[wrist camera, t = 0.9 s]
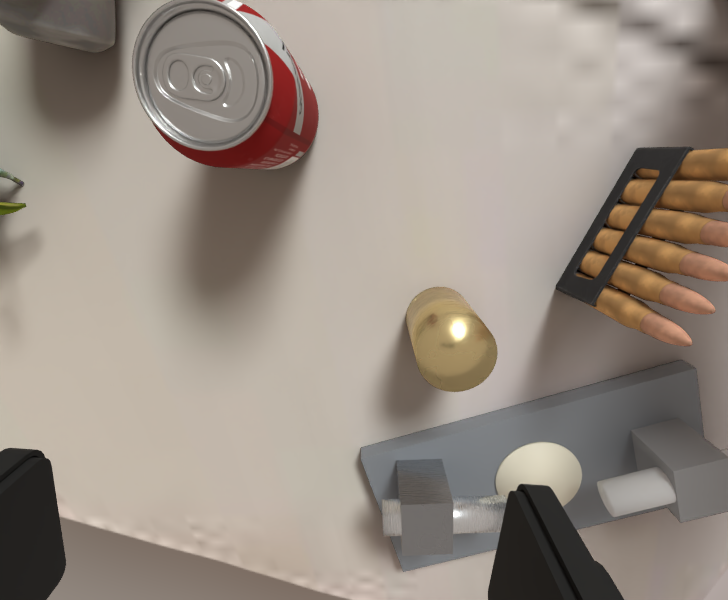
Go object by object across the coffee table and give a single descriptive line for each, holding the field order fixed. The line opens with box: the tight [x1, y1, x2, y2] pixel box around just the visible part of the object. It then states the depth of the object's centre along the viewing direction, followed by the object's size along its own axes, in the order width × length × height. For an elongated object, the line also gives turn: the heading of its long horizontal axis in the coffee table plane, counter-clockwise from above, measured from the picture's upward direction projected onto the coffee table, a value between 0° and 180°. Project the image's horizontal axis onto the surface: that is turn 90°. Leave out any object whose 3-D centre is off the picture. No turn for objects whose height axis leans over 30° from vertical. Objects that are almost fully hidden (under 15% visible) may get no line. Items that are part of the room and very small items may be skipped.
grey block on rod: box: [382, 459, 507, 556], centre depth 32 cm, size 9×4×5 cm, turn 93°
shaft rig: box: [361, 360, 728, 572], centre depth 33 cm, size 26×12×6 cm, turn 108°
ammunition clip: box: [556, 147, 728, 346], centre depth 25 cm, size 11×2×12 cm, turn 156°
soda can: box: [132, 0, 319, 169], centre depth 23 cm, size 7×7×12 cm
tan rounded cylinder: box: [406, 287, 497, 392], centre depth 29 cm, size 5×5×7 cm
